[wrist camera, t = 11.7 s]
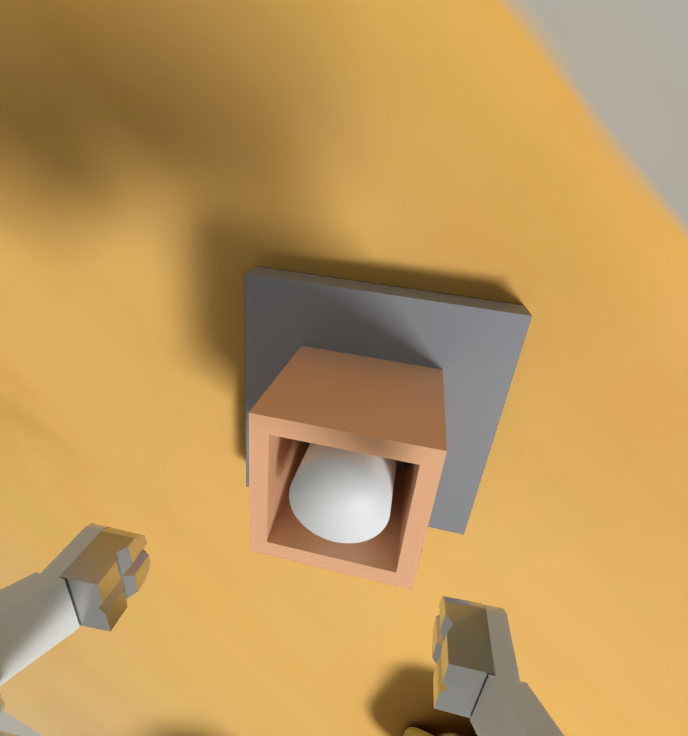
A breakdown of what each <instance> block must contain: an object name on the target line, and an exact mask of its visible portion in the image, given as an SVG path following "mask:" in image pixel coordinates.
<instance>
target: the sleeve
mask: <svg viewBox="0 0 688 736" xmlns="http://www.w3.org/2000/svg"><path fill="white" fill-rule="evenodd" d="M309 443H313V444H318V445H323V446H328V447H333V448H338V449H343V450H348V451H353V452H358V453H363V454H368V455H373V456H378V457H383V458H388V459H393V460H398V461H403V462H407V467H406V469H401V468H396V472H395V480H394V487H393V495H392V503H391V511H390V517H389V521H388V523H387V525H386V527H385V528H384V529H383V530H382V531H381V532H380V533H379V534H378V535H377V536H375V537H373V538H371V539H369V540H367V541H363V542H359V543H338V542H333V541H330V540H327V539H324V538H322V537H320V536H318V535H316V534H314V533H312V532H311V531H309V530H308V529H307V528H306V527H305V526H303V525H302V524H301V523H300V521H299V520H298V519H297V518H296V516H295V515H294V513H293V511H292V508H291V506H290V501H289V489H290V486H291V483H292V481H293V479H294V477H295V475H296V472H297V470H298V468H299V466H300V464H301V462H302V460H303V457H304V455H305V453H306V451H307V449H308V447H309ZM446 453H447V442H446V421H445V401H444V380H443V369H437V368H431V367H425V366H419V365H413V364H407V363H401V362H395V361H389V360H383V359H377V358H371V357H365V356H359V355H353V354H348V353H342V352H336V351H330V350H324V349H318V348H312V347H306V346H301V347H300V348H299V349H298V351H297V352H296V353H295V354H294V356H293V357H292V358H291V360H290V361H289V362H288V363H287V365H286V366H285V367H284V368H283V370H282V371H281V372H280V374H279V375H278V376H277V377H276V379H275V380H274V381H273V382H272V384H271V385H270V386H269V388H268V389H267V390H266V391H265V393H264V394H263V395H262V397H261V398H260V399H259V400H258V402H257V403H256V404H255V405H254V407H253V408H252V409H251V411H250V412H249V534H250V551H253V552H258V553H262V554H266V555H270V556H274V557H278V558H282V559H286V560H291V561H295V562H299V563H303V564H307V565H311V566H315V567H320V568H324V569H328V570H332V571H336V572H340V573H344V574H349V575H353V576H357V577H361V578H365V579H369V580H373V581H378V582H382V583H386V584H390V585H394V586H398V587H402V588H406V589H411V590H412V588H413V584H414V580H415V576H416V572H417V568H418V564H419V560H420V556H421V552H422V548H423V544H424V540H425V536H426V532H427V528H428V524H429V520H430V516H431V512H432V509H433V505H434V501H435V497H436V493H437V489H438V485H439V481H440V477H441V473H442V469H443V465H444V461H445V457H446Z"/></svg>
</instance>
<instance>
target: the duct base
mask: <svg viewBox="0 0 688 736" xmlns="http://www.w3.org/2000/svg"><path fill="white" fill-rule="evenodd" d="M531 317H532V315H531V314H530V313H529V311H528V310H527V308H526V307H525V306H524V305H518V304H512V303H505V302H498V301H491V300H484V299H477V298H470V297H464V296H457V295H450V294H443V293H436V292H429V291H422V290H416V289H409V288H402V287H395V286H388V285H381V284H374V283H368V282H361V281H354V280H347V279H340V278H333V277H327V276H320V275H313V274H306V273H299V272H292V271H285V270H279V269H272V268H265V267H256V268H254V269H252V270H250V271H248V272H246V273H245V376H246V486H247V487H249V412H250V411H251V409H252V408H253V407H254V405H255V404H256V403H257V402H258V400H259V399H260V398H261V397H262V395H263V394H264V393H265V391H266V390H267V389H268V388H269V386H270V385H271V384H272V382H273V381H274V380H275V379H276V377H277V376H278V375H279V374H280V372H281V371H282V370H283V368H284V367H285V366H286V365H287V363H288V362H289V361H290V360H291V358H292V357H293V356H294V354H295V353H296V352H297V351H298V349H299V348H300V347H301V346H306V347H312V348H318V349H324V350H330V351H336V352H342V353H348V354H353V355H359V356H365V357H371V358H377V359H383V360H389V361H395V362H401V363H407V364H413V365H419V366H425V367H431V368H437V369H443V380H444V401H445V421H446V442H447V453H446V457H445V461H444V465H443V469H442V473H441V477H440V481H439V485H438V489H437V493H436V497H435V501H434V505H433V509H432V512H431V516H430V520H429V524H428V527H432V528H437V529H441V530H446V531H450V532H455V533H459V534H464V532H465V529H466V525H467V522H468V519H469V516H470V513H471V509H472V506H473V503H474V500H475V497H476V493H477V490H478V487H479V484H480V481H481V477H482V474H483V471H484V468H485V465H486V461H487V458H488V455H489V452H490V449H491V445H492V442H493V439H494V436H495V432H496V429H497V426H498V423H499V420H500V416H501V413H502V410H503V407H504V404H505V400H506V397H507V394H508V391H509V388H510V384H511V381H512V378H513V375H514V372H515V368H516V365H517V362H518V359H519V355H520V352H521V349H522V346H523V343H524V339H525V336H526V333H527V330H528V327H529V323H530V320H531ZM406 467H407V462H403V461H398V460H393V459H388V458H383V457H378V456H373V455H368V454H363V453H358V452H353V451H348V450H343V449H338V448H333V447H328V446H323V445H318V444H313V443H309V447H308V449H307V451H306V453H305V455H304V457H303V460H302V462H301V464H300V466H299V468H298V470H297V472H296V475H295V477H294V479H293V481H292V483H291V486H290V489H289V501H290V506H291V508H292V511H293V513H294V515H295V516H296V518H297V519H298V520H299V521H300V523H301V524H302V525H303V526H305V527H306V528H307V529H308V530H309V531H311V532H312V533H314V534H316V535H318V536H320V537H322V538H324V539H327V540H330V541H333V542H338V543H359V542H363V541H367V540H369V539H371V538H373V537H375V536H377V535H378V534H379V533H380V532H381V531H382V530H383V529H384V528H385V527H386V525H387V523H388V521H389V517H390V511H391V503H392V495H393V487H394V480H395V472H396V468H401V469H406Z"/></svg>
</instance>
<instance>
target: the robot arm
mask: <svg viewBox="0 0 688 736" xmlns="http://www.w3.org/2000/svg"><path fill="white" fill-rule="evenodd" d="M146 544H147V543H146V539H145V535H141V534H136V533H132V532H127V531H123V530H119V529H114V528H110V527H106V526H101V525H96V524H90V525H88V526H86V527H85V528H84V529H83V530H82V531H81V532H80V533H79V534H78V535H77V536H76V537H75V538H74V539H73V540H72V541H71V542H70V543H69V544H68V545H67V546H66V547H65V549H64V550H63V551H62V552H61V553H60V554H59V555H58V556H57V557H56V558H55V559H54V560H53V561H52V562H51V563H50V564H49V565H48V566H47V567H46V568H45V569H44V570H43V572H42V573H37V572H35V573H33V574H31V575H29V576H27V577H25V578H23V579H21V580H19V581H17V582H15V583H13V584H11V585H9V586H7V587H5V588H3V589H1V590H0V685H1V684H3V683H4V682H6V681H7V680H8V679H10V678H11V677H12V676H14V675H15V674H17V673H18V672H19V671H21V670H22V669H23V668H25V667H26V666H28V665H29V664H30V663H32V662H33V661H34V660H36V659H37V658H39V657H40V656H41V655H43V654H44V653H45V652H47V651H48V650H50V649H51V648H52V647H54V646H55V645H56V644H58V643H59V642H61V641H62V640H63V639H65V638H66V637H67V636H69V635H70V634H72V633H73V632H74V631H76V630H77V629H78V628H80V625H82V626H87V627H92V628H97V629H102V630H106V631H111V630H112V629H113V627H114V626H115V624H116V623H117V621H118V620H119V618H120V617H121V615H122V614H123V613H124V611H125V610H126V608H127V598H128V597H130V596H131V595H133V594H134V593H136V592H138V590H139V589H140V587H141V586H142V584H143V583H144V581H145V579H146V576H147V573H148V571H149V564H150V560H149V555H148V554H147V553H146V552H145V551H144V549H143V548H144V547H145V545H146ZM439 607H440V615H438V616H436V620H435V624H434V630H433V642H432V658H433V659H434V661H435V663H436V664H437V665H436V669H435V672H434V675H433V696H434V709H438V710H441V711H445V712H449V713H453V714H456V715H460V716H464V717H467V718H471V719H470V722H471V724H472V726H473V728H474V730H475V732H476V734H477V736H564V735H563V733H562V732H561V731H560V729H559V728H558V726H557V725H556V724H555V722H554V721H553V719H552V718H551V717H550V715H549V714H548V712H547V711H546V709H545V708H544V707H543V705H542V704H541V702H540V701H539V700H538V698H537V697H536V695H535V694H534V693H533V691H532V690H531V688H530V687H529V686H528V684H527V683H525V682H521V681H520V678H519V673H518V668H517V663H516V658H515V653H514V648H513V643H512V638H511V632H510V627H509V622H508V617H507V613H506V612H505V610H504V609H503V608H498V607H493V606H487V605H482V604H481V603H476V602H470V601H465V600H460V599H455V598H449V597H444V596H443V597H442V599H441V602H440V605H439ZM4 706H5V703H4V701H3V699H2V697H1V695H0V715H1V714H2V712H3V711H4ZM0 736H18V735H14V734H11V733H7V732H3V731H0Z"/></svg>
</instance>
